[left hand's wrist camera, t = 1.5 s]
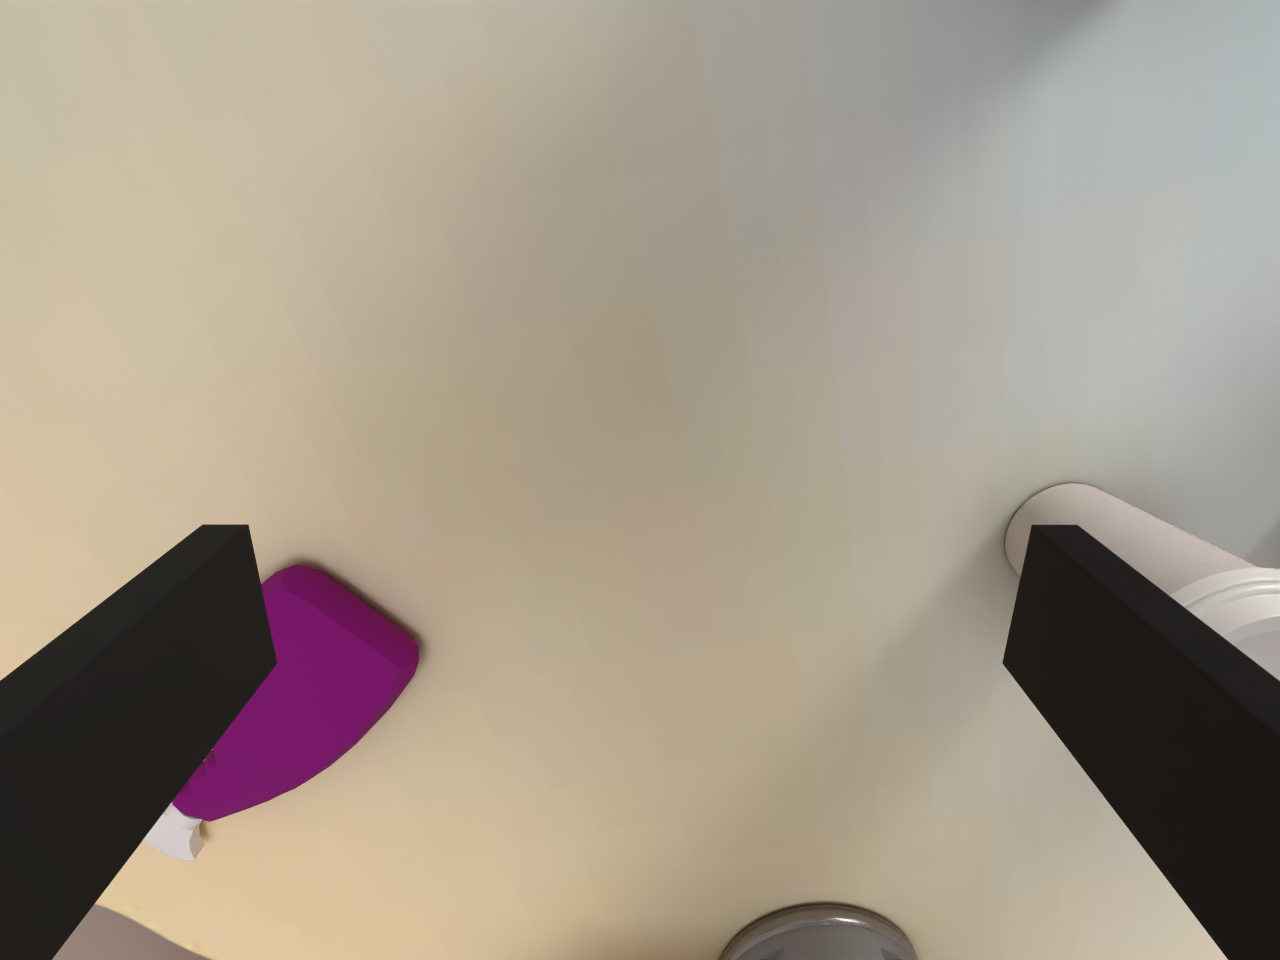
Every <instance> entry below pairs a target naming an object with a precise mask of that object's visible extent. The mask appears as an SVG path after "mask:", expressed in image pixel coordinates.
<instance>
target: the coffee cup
mask: <svg viewBox="0 0 1280 960" xmlns="http://www.w3.org/2000/svg"><path fill="white" fill-rule="evenodd" d="M1031 525H1078V526H1080V527H1081V528H1082V529H1084V530H1085V531H1086V532H1087V533H1089V534H1090V535H1091V536H1093V537H1094V538H1095V539H1097V540H1098V541H1099V542H1100V543H1102V544H1103V545H1104V546H1106V547H1107V548H1108V549H1110V550H1111V551H1112V552H1113V553H1115V554H1116V555H1117V556H1119V557H1120V558H1121V559H1122V560H1124V561H1125V562H1126V563H1128V564H1129V565H1130V566H1132V567H1133V568H1134V569H1135V570H1137V571H1138V572H1139V573H1141V574H1142V575H1143V576H1144V577H1146V578H1147V579H1148V580H1150V581H1151V582H1152V583H1154V584H1155V585H1156V586H1157V587H1159V588H1160V589H1161V590H1163V591H1164V592H1165V593H1166V594H1168V595H1169V596H1170V597H1172V598H1173V599H1174V600H1176V601H1177V602H1178V603H1179V604H1181V605H1182V606H1183V607H1185V608H1186V609H1187V610H1188V611H1190V612H1191V613H1192V614H1194V615H1195V616H1196V617H1198V618H1199V619H1200V620H1201V621H1203V622H1204V623H1205V624H1207V625H1208V626H1209V627H1211V628H1212V629H1213V630H1214V631H1216V632H1217V633H1218V634H1220V635H1221V636H1222V637H1223V638H1225V639H1226V640H1227V641H1229V642H1230V643H1231V644H1233V645H1234V646H1235V647H1236V648H1238V649H1239V650H1240V651H1242V652H1243V653H1244V654H1245V655H1247V656H1248V657H1249V658H1251V659H1252V660H1253V661H1255V662H1256V663H1257V664H1258V665H1260V666H1261V667H1262V668H1264V669H1265V670H1266V671H1267V672H1269V673H1270V674H1271V675H1273V676H1274V677H1275V678H1277V679H1278V680H1279V681H1280V569H1274V568H1259V567H1257V566H1255V565H1253V564H1251V563H1249V562H1247V561H1245V560H1243V559H1241V558H1239V557H1236V556H1234V555H1232V554H1230V553H1228V552H1226V551H1224V550H1222V549H1220V548H1218V547H1216V546H1214V545H1212V544H1210V543H1208V542H1206V541H1204V540H1202V539H1199V538H1197V537H1195V536H1193V535H1191V534H1189V533H1187V532H1185V531H1183V530H1181V529H1179V528H1177V527H1175V526H1173V525H1171V524H1169V523H1167V522H1165V521H1163V520H1161V519H1159V518H1157V517H1155V516H1153V515H1151V514H1149V513H1147V512H1145V511H1143V510H1140V509H1138V508H1136V507H1134V506H1132V505H1130V504H1128V503H1126V502H1124V501H1122V500H1120V499H1118V498H1116V497H1114V496H1112V495H1110V494H1108V493H1106V492H1104V491H1102V490H1100V489H1098V488H1096V487H1093V486H1090V485H1086V484H1079V483H1069V484H1062V485H1057V486H1054V487H1051V488H1048V489H1046V490H1044V491H1042V492H1040V493H1038V494H1036V495H1035V496H1033V497H1032V498H1030V499H1029V500H1028V501H1027V502H1026V503H1025V504H1024V505H1023V506H1022V507H1021V508H1020V509H1019V510H1018V511H1017V513H1016V514H1015V515H1014V517H1013V519H1012V520H1011V522H1010V525H1009V527H1008V530H1007V533H1006V539H1005V550H1006V555H1007V558H1008V560H1009V562H1010V564H1011V566H1012V567H1013V569H1014V570H1015V572H1016V573H1017V574H1018V576H1019V577H1020V578H1021V573H1022V568H1023V563H1024V559H1025V554H1026V549H1027V544H1028V540H1029V535H1030V530H1031Z"/></svg>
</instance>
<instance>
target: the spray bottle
mask: <svg viewBox="0 0 1280 960" xmlns="http://www.w3.org/2000/svg"><path fill="white" fill-rule="evenodd" d="M261 587H262V592H263V597H264V602H265V606H266V611H267V616H268V621H269V625H270V630H271V635H272V640H273V644H274V649H275V654H276V659H277V664H276V666H275V667H274V668H273V670H272V671H271V672H270V674H269V675H268V676H267V678H266V679H265V680H264V681H263V683H262V684H261V685H260V687H259V688H258V689H257V691H256V692H255V693H254V695H253V696H252V697H251V699H250V700H249V701H248V703H247V704H246V705H245V706H244V708H243V709H242V710H241V712H240V713H239V714H238V716H237V717H236V718H235V720H234V721H233V722H232V724H231V725H230V726H229V727H228V729H227V730H226V731H225V733H224V734H223V735H222V737H221V738H220V739H219V741H218V742H217V743H216V745H215V746H214V747H213V750H212V751H211V752H210V753H209V754H208V756H207V757H206V761H204V762H202V763H201V764H200V766H199V767H198V768H197V770H196V771H195V772H194V773H193V775H192V776H191V777H190V779H189V780H188V781H187V783H186V784H185V785H184V787H183V788H182V789H181V791H180V792H179V793H178V794H177V796H176V797H175V798H174V800H173V801H172V802H171V804H170V805H169V806H168V808H167V809H166V810H165V812H164V813H163V814H162V815H161V817H160V818H159V819H158V821H157V822H156V823H155V825H154V826H153V827H152V829H151V830H150V831H149V833H148V834H147V835H146V837H145V838H144V839H143V840H142V842H144V843H146V844H148V845H150V846H151V847H153V848H155V849H157V850H158V851H160V852H162V853H164V854H166V855H169V856H173V857H177V858H181V859H185V860H189V861H194V860H195V858H196V857H197V855H198V854H199V852H200V851H201V849H202V848H203V846H204V843H203V841H202V839H201V837H200V832H199V826H200V823H201V821H202V820H206V821H210V822H211V821H213V820H216V819H219V818H222V817H225V816H228V815H231V814H234V813H237V812H239V811H242V810H245V809H248V808H250V807H253V806H256V805H258V804H261V803H264V802H266V801H269V800H271V799H273V798H275V797H277V796H279V795H281V794H283V793H285V792H288V791H290V790H293V789H295V788H297V787H298V786H300V785H301V784H303V783H305V782H306V781H308V780H310V779H311V778H313V777H314V776H316V775H317V774H319V773H320V772H322V771H323V770H325V769H326V768H328V767H329V766H330V765H332V764H333V763H334V762H335V761H336V760H338V759H339V758H340V757H341V756H342V755H343V754H345V753H346V752H347V751H348V750H349V749H351V748H352V747H353V746H354V745H355V744H356V743H357V742H358V741H359V740H360V739H361V738H362V737H363V736H364V735H365V734H366V733H367V732H368V731H369V730H370V729H371V728H372V727H373V725H374V724H375V723H376V722H377V721H378V720H379V719H380V718H381V717H382V716H383V715H384V714H385V713H386V712H387V711H388V710H389V709H390V707H391V706H392V705H393V703H394V702H395V701H396V699H397V698H398V697H399V695H400V694H401V692H402V691H403V690H404V688H405V687H406V686H407V684H408V683H409V682H410V680H411V679H412V678H413V676H414V674H415V671H416V668H417V665H418V661H419V651H418V645H417V644H416V642H415V641H414V639H413V638H412V637H411V636H409V635H408V634H407V633H405V632H404V631H403V630H401V629H400V628H398V627H397V626H396V625H394V624H393V623H392V622H390V621H389V620H388V619H386V618H385V617H383V616H382V615H381V614H379V613H378V612H377V611H375V610H374V609H373V608H371V607H370V606H368V605H367V604H366V603H364V602H363V601H362V600H360V599H359V598H358V597H356V596H355V595H353V594H352V593H351V592H349V591H348V590H347V589H345V588H344V587H343V586H341V585H340V584H338V583H337V582H336V581H334V580H333V579H332V578H330V577H329V576H327V575H326V574H325V573H323V572H322V571H319V570H316V569H312V568H309V567H305V566H302V565H296V566H292V567H288V568H285V569H283V570H281V571H278V572H276V573H275V574H273V575H272V576H271V577H270V578H268V579H267V580H266V581H265V582H263V583H262V584H261Z"/></svg>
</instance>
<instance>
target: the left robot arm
mask: <svg viewBox="0 0 1280 960" xmlns="http://www.w3.org/2000/svg"><path fill="white" fill-rule="evenodd" d="M276 664H277V659H276V654H275V649H274V644H273V640H272V635H271V630H270V625H269V621H268V616H267V611H266V606H265V602H264V597H263V592H262V587H261V583H260V578H259V573H258V568H257V563H256V559H255V554H254V549H253V544H252V540H251V535H250V530H249V525H202V526H200V527H199V528H198V529H196V530H195V531H194V532H193V533H191V534H190V535H189V536H187V537H186V538H185V539H183V540H182V541H181V542H180V543H178V544H177V545H176V546H174V547H173V548H172V549H170V550H169V551H168V552H167V553H165V554H164V555H163V556H161V557H160V558H159V559H158V560H156V561H155V562H154V563H152V564H151V565H150V566H148V567H147V568H146V569H145V570H143V571H142V572H141V573H139V574H138V575H137V576H136V577H134V578H133V579H132V580H130V581H129V582H128V583H126V584H125V585H124V586H123V587H121V588H120V589H119V590H117V591H116V592H115V593H114V594H112V595H111V596H110V597H108V598H107V599H106V600H104V601H103V602H102V603H101V604H99V605H98V606H97V607H95V608H94V609H93V610H92V611H90V612H89V613H88V614H86V615H85V616H84V617H82V618H81V619H80V620H79V621H77V622H76V623H75V624H73V625H72V626H71V627H69V628H68V629H67V630H66V631H64V632H63V633H62V634H60V635H59V636H58V637H57V638H55V639H54V640H53V641H51V642H50V643H49V644H47V645H46V646H45V647H44V648H42V649H41V650H40V651H38V652H37V653H36V654H35V655H33V656H32V657H31V658H29V659H28V660H27V661H25V662H24V663H23V664H22V665H20V666H19V667H18V668H16V669H15V670H14V671H13V672H11V673H10V674H9V675H7V676H6V677H5V678H3V679H2V680H1V681H0V960H52V959H53V957H54V956H55V955H56V953H57V952H58V951H59V949H60V948H61V947H62V946H63V944H64V943H65V941H66V940H67V939H68V938H69V936H70V935H71V934H72V932H73V931H74V930H75V928H76V927H77V926H78V924H79V923H80V922H81V921H82V919H83V918H84V917H85V915H86V914H87V913H88V911H89V910H90V909H91V907H92V906H93V905H94V903H95V902H96V901H97V900H98V898H99V897H100V896H101V894H102V893H103V892H104V890H105V889H106V888H107V886H108V885H109V884H110V882H111V881H112V880H113V879H114V877H115V876H116V875H117V873H118V872H119V871H120V869H121V868H122V867H123V865H124V864H125V863H126V861H127V860H128V859H129V858H130V856H131V855H132V854H133V852H134V851H135V850H136V848H137V847H138V846H139V844H140V843H141V842H142V840H143V839H144V838H145V837H146V835H147V834H148V833H149V831H150V830H151V829H152V827H153V826H154V825H155V823H156V822H157V821H158V819H159V818H160V817H161V815H162V814H163V813H164V812H165V810H166V809H167V808H168V806H169V805H170V804H171V802H172V801H173V800H174V798H175V797H176V796H177V794H178V793H179V792H180V791H181V789H182V788H183V787H184V785H185V784H186V783H187V781H188V780H189V779H190V777H191V776H192V775H193V773H194V772H195V771H196V770H197V768H198V767H199V766H200V764H201V763H202V762H203V760H204V759H205V758H206V756H207V755H208V754H209V752H210V751H211V750H212V748H213V747H214V746H215V745H216V743H217V742H218V741H219V739H220V738H221V737H222V735H223V734H224V733H225V731H226V730H227V729H228V727H229V726H230V725H231V724H232V722H233V721H234V720H235V718H236V717H237V716H238V714H239V713H240V712H241V710H242V709H243V708H244V706H245V705H246V704H247V703H248V701H249V700H250V699H251V697H252V696H253V695H254V693H255V692H256V691H257V689H258V688H259V687H260V685H261V684H262V683H263V681H264V680H265V679H266V678H267V676H268V675H269V674H270V672H271V671H272V670H273V668H274V667H275V666H276ZM1003 664H1004V666H1005V667H1006V668H1007V670H1008V671H1009V672H1010V674H1011V675H1012V676H1013V678H1014V679H1015V680H1016V682H1017V683H1018V684H1019V685H1020V687H1021V688H1022V689H1023V691H1024V692H1025V693H1026V695H1027V696H1028V697H1029V699H1030V700H1031V701H1032V703H1033V704H1034V705H1035V706H1036V708H1037V709H1038V710H1039V712H1040V713H1041V714H1042V716H1043V717H1044V718H1045V720H1046V721H1047V722H1048V724H1049V725H1050V726H1051V727H1052V729H1053V730H1054V731H1055V733H1056V734H1057V735H1058V737H1059V738H1060V739H1061V741H1062V742H1063V743H1064V745H1065V746H1066V747H1067V748H1068V750H1069V751H1070V752H1071V754H1072V755H1073V756H1074V758H1075V759H1076V760H1077V762H1078V763H1079V764H1080V766H1081V767H1082V768H1083V770H1084V771H1085V772H1086V773H1087V775H1088V776H1089V777H1090V779H1091V780H1092V781H1093V783H1094V784H1095V785H1096V787H1097V788H1098V789H1099V791H1100V792H1101V793H1102V794H1103V796H1104V797H1105V798H1106V800H1107V801H1108V802H1109V804H1110V805H1111V806H1112V808H1113V809H1114V810H1115V812H1116V813H1117V814H1118V815H1119V817H1120V818H1121V819H1122V821H1123V822H1124V823H1125V825H1126V826H1127V827H1128V829H1129V830H1130V831H1131V833H1132V834H1133V835H1134V837H1135V838H1136V839H1137V840H1138V842H1139V843H1140V844H1141V846H1142V847H1143V848H1144V850H1145V851H1146V852H1147V854H1148V855H1149V856H1150V858H1151V859H1152V860H1153V861H1154V863H1155V864H1156V865H1157V867H1158V868H1159V869H1160V871H1161V872H1162V873H1163V875H1164V876H1165V877H1166V879H1167V880H1168V881H1169V882H1170V884H1171V885H1172V886H1173V888H1174V889H1175V890H1176V892H1177V893H1178V894H1179V896H1180V897H1181V898H1182V900H1183V901H1184V902H1185V903H1186V905H1187V906H1188V907H1189V909H1190V910H1191V911H1192V913H1193V914H1194V915H1195V917H1196V918H1197V919H1198V921H1199V922H1200V923H1201V925H1202V926H1203V927H1204V928H1205V930H1206V931H1207V932H1208V934H1209V935H1210V936H1211V938H1212V939H1213V940H1214V942H1215V943H1216V944H1217V946H1218V947H1219V948H1220V949H1221V951H1222V952H1223V953H1224V955H1225V956H1226V957H1227V959H1228V960H1280V681H1279V680H1278V679H1277V678H1275V677H1274V676H1273V675H1271V674H1270V673H1269V672H1267V671H1266V670H1265V669H1264V668H1262V667H1261V666H1260V665H1258V664H1257V663H1256V662H1255V661H1253V660H1252V659H1251V658H1249V657H1248V656H1247V655H1245V654H1244V653H1243V652H1242V651H1240V650H1239V649H1238V648H1236V647H1235V646H1234V645H1233V644H1231V643H1230V642H1229V641H1227V640H1226V639H1225V638H1223V637H1222V636H1221V635H1220V634H1218V633H1217V632H1216V631H1214V630H1213V629H1212V628H1211V627H1209V626H1208V625H1207V624H1205V623H1204V622H1203V621H1201V620H1200V619H1199V618H1198V617H1196V616H1195V615H1194V614H1192V613H1191V612H1190V611H1188V610H1187V609H1186V608H1185V607H1183V606H1182V605H1181V604H1179V603H1178V602H1177V601H1176V600H1174V599H1173V598H1172V597H1170V596H1169V595H1168V594H1166V593H1165V592H1164V591H1163V590H1161V589H1160V588H1159V587H1157V586H1156V585H1155V584H1154V583H1152V582H1151V581H1150V580H1148V579H1147V578H1146V577H1144V576H1143V575H1142V574H1141V573H1139V572H1138V571H1137V570H1135V569H1134V568H1133V567H1132V566H1130V565H1129V564H1128V563H1126V562H1125V561H1124V560H1122V559H1121V558H1120V557H1119V556H1117V555H1116V554H1115V553H1113V552H1112V551H1111V550H1110V549H1108V548H1107V547H1106V546H1104V545H1103V544H1102V543H1100V542H1099V541H1098V540H1097V539H1095V538H1094V537H1093V536H1091V535H1090V534H1089V533H1087V532H1086V531H1085V530H1084V529H1082V528H1081V527H1080V526H1078V525H1031V530H1030V535H1029V540H1028V544H1027V549H1026V554H1025V559H1024V563H1023V568H1022V573H1021V578H1020V583H1019V587H1018V592H1017V597H1016V602H1015V606H1014V611H1013V616H1012V621H1011V625H1010V630H1009V635H1008V640H1007V644H1006V649H1005V654H1004V659H1003ZM720 960H918V959H917V956H916V954H915V951H914V949H913V947H912V945H911V943H910V941H909V940H908V938H907V937H906V936H905V935H904V934H903V932H902V931H900V930H899V929H898V928H897V927H896V926H895V925H893V924H892V923H891V922H889V921H887V920H886V919H884V918H882V917H880V916H878V915H876V914H874V913H871V912H868V911H865V910H862V909H858V908H854V907H848V906H841V905H809V906H802V907H796V908H792V909H788V910H784V911H781V912H778V913H775V914H772V915H770V916H767V917H765V918H763V919H761V920H759V921H757V922H755V923H754V924H752V925H751V926H749V927H748V928H746V929H745V930H744V931H742V932H741V933H740V934H739V935H738V936H737V937H735V938H734V939H733V941H732V942H731V943H730V944H729V945H728V947H727V948H726V949H725V951H724V953H723V954H722V956H721V958H720Z"/></svg>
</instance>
